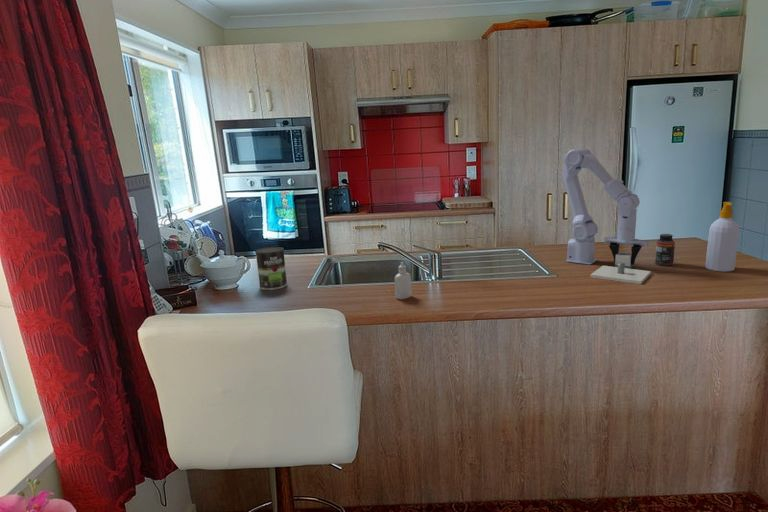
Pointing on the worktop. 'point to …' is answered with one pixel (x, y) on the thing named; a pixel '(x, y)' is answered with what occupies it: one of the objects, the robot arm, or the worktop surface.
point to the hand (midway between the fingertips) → (624, 263)
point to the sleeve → (623, 259)
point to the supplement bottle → (665, 250)
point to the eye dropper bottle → (402, 283)
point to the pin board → (621, 274)
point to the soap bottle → (722, 242)
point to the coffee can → (271, 268)
